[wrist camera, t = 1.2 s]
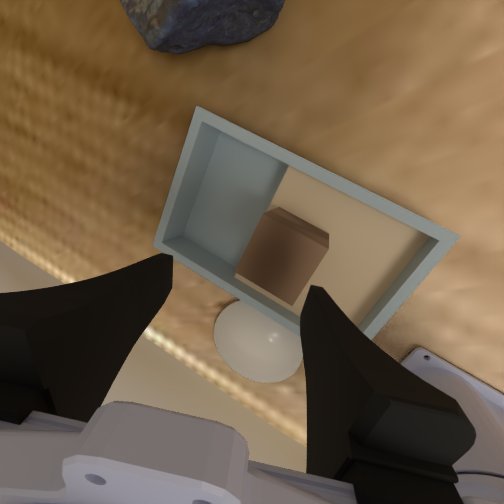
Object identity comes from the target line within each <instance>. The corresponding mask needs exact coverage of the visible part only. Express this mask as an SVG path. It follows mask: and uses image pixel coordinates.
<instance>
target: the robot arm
mask: <svg viewBox="0 0 504 504" xmlns="http://www.w3.org/2000/svg"><path fill="white" fill-rule="evenodd" d="M172 278H173V255H169V254H164V253H160V254H157V255H154V256H152V257H149V258H147V259H145V260H142V261H140V262H137V263H135V264H132V265H130V266H127V267H124V268H121V269H119V270H116V271H113V272H110V273H107V274H104V275H101V276H98V277H94V278H90V279H87V280H83V281H79V282H74V283H69V284H64V285H59V286H54V287H48V288H42V289H35V290H28V291H20V292H9V293H0V504H504V394H502V393H501V392H499V391H497V390H495V389H494V388H492V387H490V386H488V385H487V384H485V383H483V382H482V381H480V380H478V379H476V378H475V377H473V376H471V375H469V374H468V373H466V372H464V371H462V370H461V369H459V368H457V367H455V366H454V365H452V364H450V363H449V362H447V361H445V360H443V359H442V358H440V357H438V356H436V355H435V354H433V353H431V352H429V351H428V350H426V349H424V348H422V347H418V348H415V349H414V350H413V351H412V352H411V353H410V354H409V355H408V356H407V357H406V358H405V359H404V360H403V361H402V362H401V364H400V363H398V362H397V361H396V360H394V359H393V358H392V357H390V356H389V355H388V354H387V353H385V352H384V351H383V350H382V349H380V348H379V347H378V346H377V345H376V344H375V343H373V342H372V341H371V340H370V339H369V338H368V337H367V336H366V335H365V334H364V333H363V332H361V331H360V330H359V329H358V327H357V326H356V325H355V324H354V323H353V322H352V321H351V320H350V319H349V318H348V317H347V316H346V315H345V313H344V312H343V311H342V310H341V309H340V307H339V306H338V305H337V304H336V303H335V301H334V300H333V299H332V298H331V296H330V295H329V294H328V293H327V291H326V290H325V289H324V288H323V287H320V286H315V285H310V288H309V291H308V294H307V297H306V300H305V303H304V305H303V308H302V311H301V314H300V337H301V345H302V353H303V360H304V368H305V376H306V394H307V468H306V469H307V470H306V473H303V472H298V471H294V470H290V469H285V468H281V467H277V466H272V465H268V464H264V463H259V462H255V461H250V460H248V459H249V450H248V443H247V441H246V440H245V438H244V437H243V436H242V435H241V434H239V433H238V432H237V431H236V430H235V429H234V428H232V427H230V426H227V425H225V424H222V423H220V422H217V421H213V420H209V419H204V418H200V417H196V416H191V415H187V414H182V413H178V412H174V411H169V410H165V409H160V408H156V407H152V406H147V405H143V404H138V403H134V402H124V401H113V402H110V403H108V404H106V405H103V406H101V404H102V403H103V401H104V399H105V397H106V395H107V393H108V391H109V389H110V387H111V385H112V383H113V381H114V380H115V378H116V376H117V374H118V372H119V371H120V369H121V367H122V365H123V363H124V362H125V360H126V358H127V356H128V355H129V353H130V351H131V350H132V348H133V346H134V344H135V343H136V341H137V340H138V339H139V337H140V336H141V334H142V333H143V332H144V330H145V329H146V328H147V326H148V325H149V323H150V322H151V321H152V319H153V318H154V317H155V315H156V314H157V312H158V311H159V310H160V308H161V307H162V305H163V304H164V302H165V301H166V299H167V297H168V295H169V293H170V291H171V289H172ZM425 355H428V357H427V358H425V357H424V356H425ZM100 406H101V407H100Z"/></svg>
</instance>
